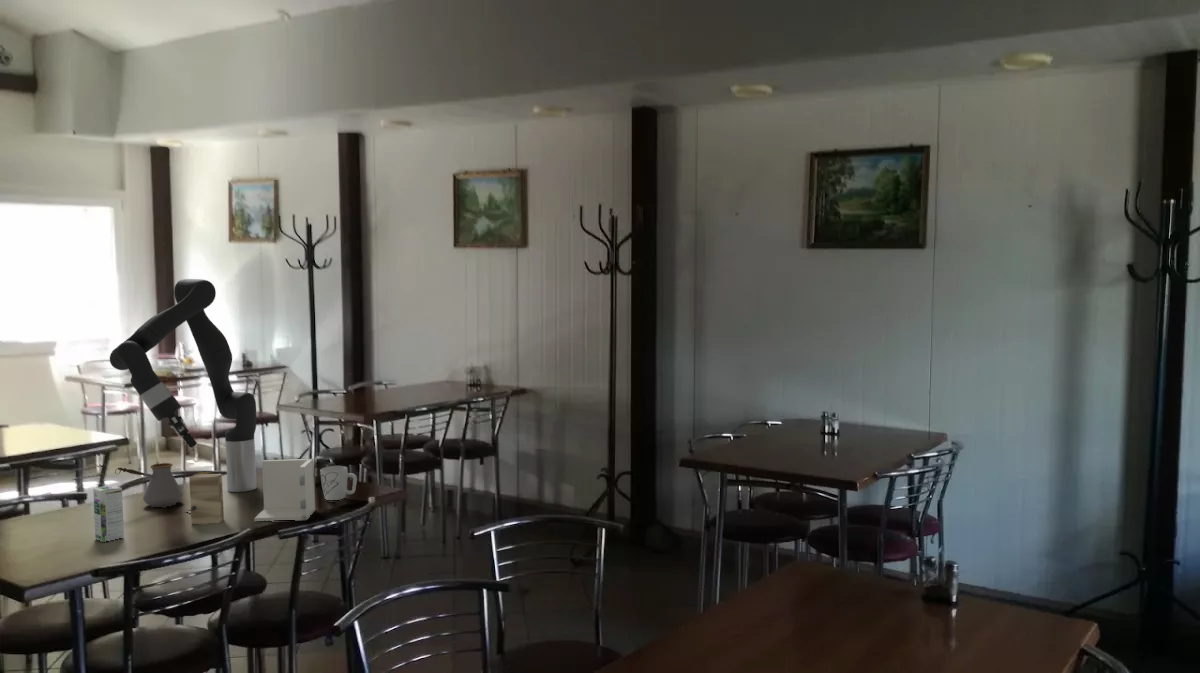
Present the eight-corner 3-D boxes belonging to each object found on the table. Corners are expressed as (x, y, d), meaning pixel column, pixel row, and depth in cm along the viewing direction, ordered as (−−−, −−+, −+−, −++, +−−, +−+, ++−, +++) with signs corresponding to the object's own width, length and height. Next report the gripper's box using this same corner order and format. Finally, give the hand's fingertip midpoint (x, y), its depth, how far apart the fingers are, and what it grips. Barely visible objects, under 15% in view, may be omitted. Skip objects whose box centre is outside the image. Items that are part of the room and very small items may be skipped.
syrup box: (94, 539, 261) (91, 488, 260) (116, 534, 265) (113, 484, 264) (103, 543, 257) (100, 491, 256) (125, 538, 261) (122, 487, 260)
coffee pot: (166, 499, 307) (164, 453, 306) (191, 502, 301) (188, 456, 300) (106, 514, 288) (104, 466, 287) (131, 518, 283) (128, 469, 281)
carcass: (265, 511, 288) (263, 460, 287) (315, 509, 289) (313, 458, 288) (253, 523, 275) (250, 469, 273) (305, 521, 276) (303, 467, 275)
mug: (360, 495, 307) (359, 465, 306) (354, 501, 299) (353, 470, 298) (325, 496, 307) (324, 466, 306) (318, 502, 298) (317, 471, 298)
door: (196, 521, 278) (193, 474, 277) (223, 520, 279) (221, 473, 278) (190, 525, 273) (188, 478, 272) (218, 524, 274) (216, 477, 273)
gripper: (172, 393, 273) (205, 438, 275) (172, 394, 286) (204, 437, 288) (148, 408, 270) (182, 453, 273) (149, 409, 283) (182, 452, 285)
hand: (193, 445), depth 280 cm, fingers open, 8 cm apart
